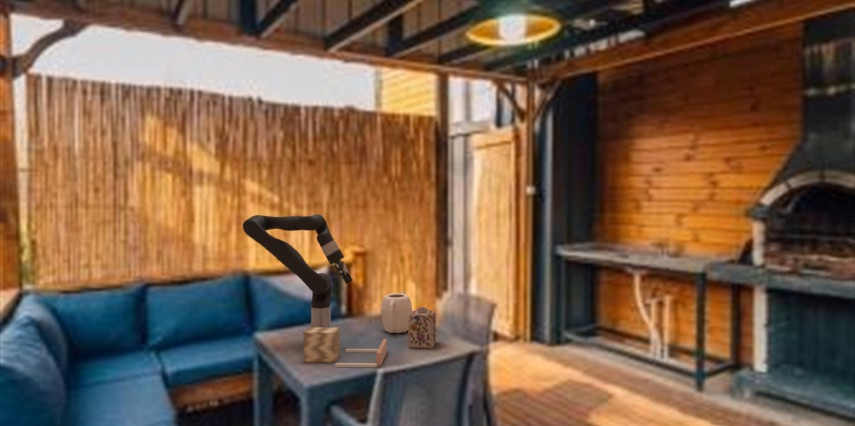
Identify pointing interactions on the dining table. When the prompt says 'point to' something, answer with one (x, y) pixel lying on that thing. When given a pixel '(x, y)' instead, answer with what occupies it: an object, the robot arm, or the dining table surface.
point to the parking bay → (379, 352)
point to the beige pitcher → (396, 312)
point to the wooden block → (321, 344)
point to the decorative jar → (422, 328)
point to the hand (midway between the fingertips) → (349, 282)
